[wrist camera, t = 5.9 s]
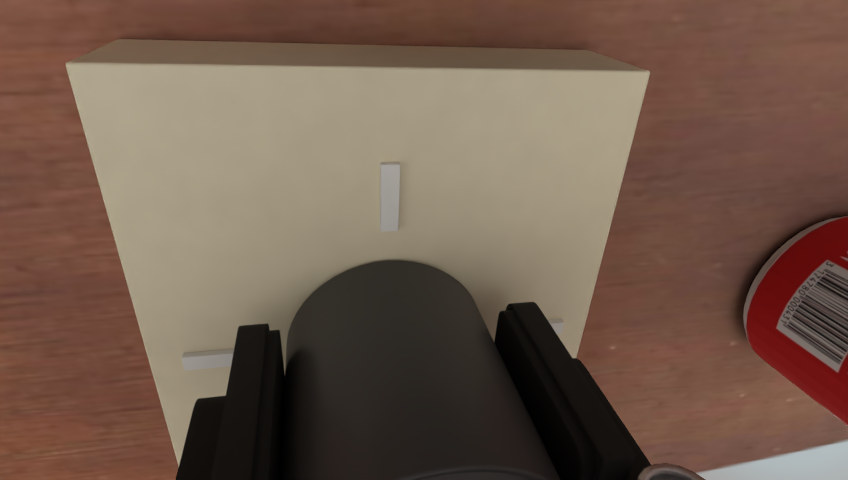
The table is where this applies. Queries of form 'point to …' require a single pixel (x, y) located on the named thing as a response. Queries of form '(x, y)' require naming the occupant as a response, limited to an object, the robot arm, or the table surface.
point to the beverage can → (806, 313)
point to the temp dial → (401, 385)
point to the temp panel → (346, 181)
